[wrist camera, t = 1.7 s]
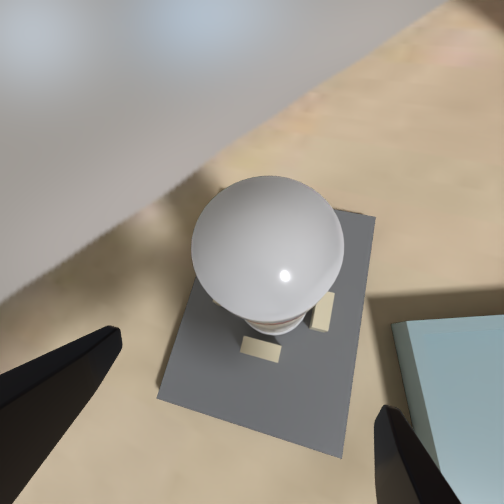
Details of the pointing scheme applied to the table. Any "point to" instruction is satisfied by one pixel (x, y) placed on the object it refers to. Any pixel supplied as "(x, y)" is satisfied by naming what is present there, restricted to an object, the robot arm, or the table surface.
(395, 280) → the table surface
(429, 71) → the table surface
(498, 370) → the tray
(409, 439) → the robot arm
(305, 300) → the white cylinder
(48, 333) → the table surface
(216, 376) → the board
